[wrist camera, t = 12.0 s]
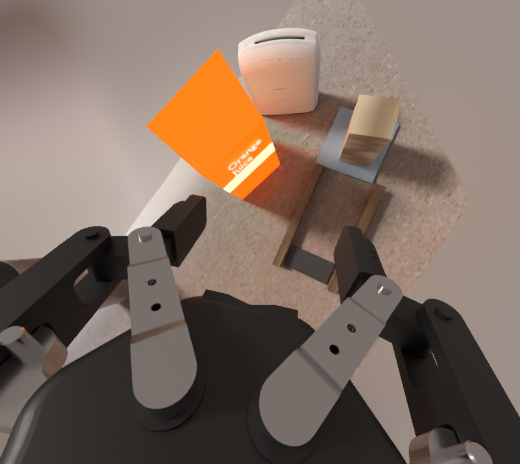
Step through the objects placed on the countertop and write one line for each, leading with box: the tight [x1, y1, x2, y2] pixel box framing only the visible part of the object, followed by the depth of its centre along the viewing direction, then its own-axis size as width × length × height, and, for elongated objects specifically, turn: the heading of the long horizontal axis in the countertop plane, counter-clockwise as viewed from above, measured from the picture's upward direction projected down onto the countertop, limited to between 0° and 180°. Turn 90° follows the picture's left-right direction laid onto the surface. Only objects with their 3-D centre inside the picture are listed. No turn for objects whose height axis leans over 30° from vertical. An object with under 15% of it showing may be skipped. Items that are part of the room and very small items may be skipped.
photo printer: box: [238, 28, 320, 115], centre depth 31 cm, size 10×4×12 cm, turn 86°
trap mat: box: [285, 246, 335, 284], centre depth 35 cm, size 7×3×1 cm, turn 66°
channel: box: [273, 163, 385, 294], centre depth 34 cm, size 10×17×2 cm, turn 156°
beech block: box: [339, 95, 402, 166], centre depth 29 cm, size 4×4×9 cm
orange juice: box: [147, 49, 280, 200], centre depth 28 cm, size 8×9×20 cm
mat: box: [315, 106, 399, 184], centre depth 34 cm, size 9×10×1 cm
